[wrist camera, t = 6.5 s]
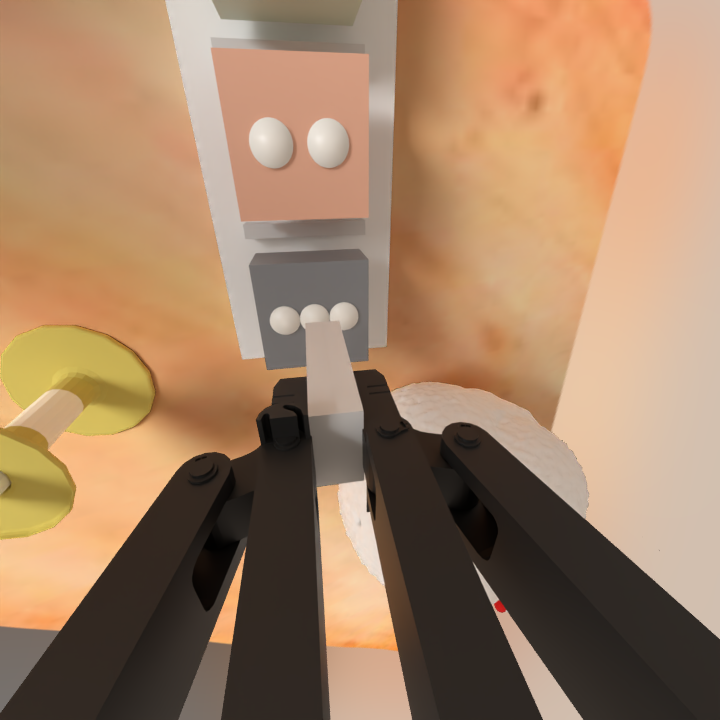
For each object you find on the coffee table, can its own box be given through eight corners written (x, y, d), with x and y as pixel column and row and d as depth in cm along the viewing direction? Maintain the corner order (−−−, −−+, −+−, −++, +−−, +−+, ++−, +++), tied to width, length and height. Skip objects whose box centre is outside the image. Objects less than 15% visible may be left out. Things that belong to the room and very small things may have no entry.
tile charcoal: (270, 347, 22) (266, 371, 19) (255, 253, 19) (248, 266, 16) (360, 339, 22) (368, 361, 20) (359, 248, 20) (369, 260, 17)
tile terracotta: (249, 215, 18) (240, 222, 15) (225, 70, 15) (209, 45, 12) (358, 212, 19) (369, 217, 16) (356, 74, 16) (369, 52, 13)
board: (245, 347, 26) (239, 367, 23) (129, -223, 13) (85, -328, 11) (381, 336, 28) (390, 353, 25) (392, -185, 15) (414, -268, 12)
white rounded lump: (274, 413, 30) (255, 618, 16) (430, 282, 26) (580, 400, 12) (401, 504, 39) (459, 682, 25) (529, 416, 35) (677, 569, 22)
